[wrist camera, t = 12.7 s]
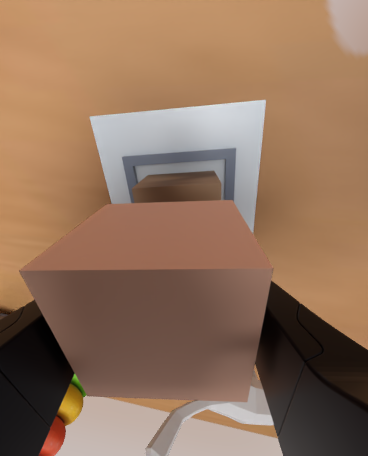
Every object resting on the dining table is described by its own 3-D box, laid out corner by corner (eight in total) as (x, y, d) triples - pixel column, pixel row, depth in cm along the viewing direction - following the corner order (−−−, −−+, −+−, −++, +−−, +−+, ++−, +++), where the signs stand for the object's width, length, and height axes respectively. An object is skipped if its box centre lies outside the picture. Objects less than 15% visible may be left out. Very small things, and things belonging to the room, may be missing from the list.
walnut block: (214, 170, 17) (221, 182, 12) (214, 230, 19) (220, 259, 15) (148, 174, 17) (131, 188, 13) (156, 233, 20) (145, 261, 15)
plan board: (261, 101, 15) (268, 98, 14) (247, 263, 22) (251, 272, 21) (95, 117, 16) (85, 115, 15) (131, 267, 23) (127, 275, 22)
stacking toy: (90, 270, 24) (-162, 596, 7) (144, 300, 26) (47, 616, 9) (67, 305, 27) (-148, 592, 10) (117, 329, 29) (6, 606, 12)
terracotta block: (232, 200, 9) (273, 268, 4) (226, 296, 11) (247, 402, 7) (106, 204, 9) (18, 270, 5) (128, 296, 12) (87, 396, 7)
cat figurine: (271, 363, 30) (326, 524, 18) (160, 319, 27) (131, 479, 14) (290, 349, 29) (366, 517, 16) (174, 300, 25) (154, 463, 13)
